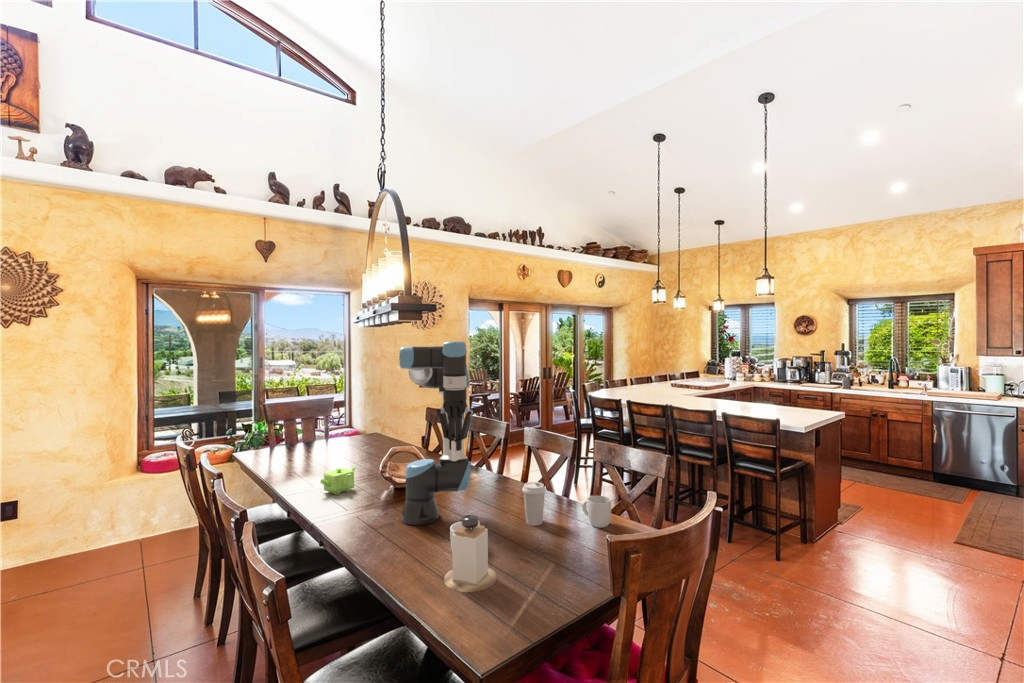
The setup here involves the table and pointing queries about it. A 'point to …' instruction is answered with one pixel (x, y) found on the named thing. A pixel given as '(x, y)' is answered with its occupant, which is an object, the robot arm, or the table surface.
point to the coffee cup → (534, 502)
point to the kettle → (338, 480)
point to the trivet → (461, 587)
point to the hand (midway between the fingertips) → (455, 459)
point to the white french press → (470, 555)
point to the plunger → (469, 521)
